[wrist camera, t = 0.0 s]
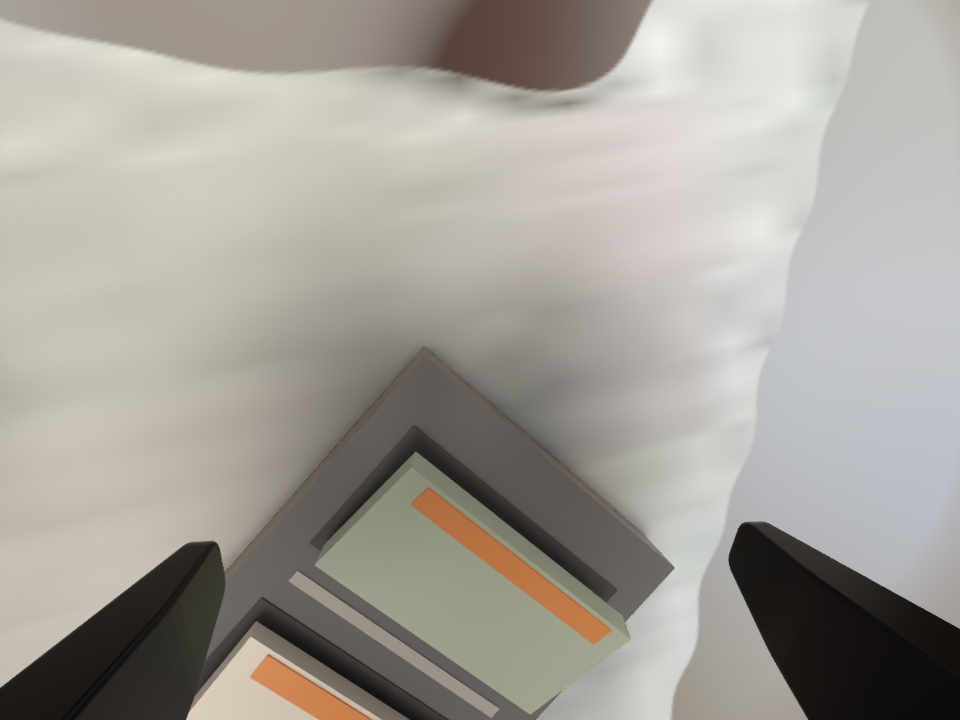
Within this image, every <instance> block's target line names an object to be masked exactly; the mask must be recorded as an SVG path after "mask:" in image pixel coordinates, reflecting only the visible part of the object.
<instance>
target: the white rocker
mask: <svg viewBox="0 0 960 720" xmlns="http://www.w3.org/2000/svg"><path fill="white" fill-rule="evenodd" d="M186 720H409V719H408V718H406V717H405V716H403V715H402V714H400V713H399V712H397V711H395V710H394V709H392V708H391V707H389V706H388V705H386V704H385V703H383V702H381V701H380V700H378V699H377V698H375V697H374V696H372V695H371V694H369V693H367V692H366V691H364V690H363V689H361V688H360V687H358V686H357V685H355V684H353V683H352V682H350V681H349V680H347V679H346V678H344V677H343V676H341V675H339V674H338V673H336V672H335V671H333V670H332V669H330V668H329V667H327V666H325V665H324V664H322V663H321V662H319V661H318V660H316V659H315V658H313V657H311V656H310V655H308V654H307V653H305V652H304V651H302V650H301V649H299V648H297V647H296V646H294V645H293V644H291V643H290V642H288V641H287V640H285V639H283V638H282V637H280V636H279V635H277V634H276V633H274V632H273V631H271V630H270V629H268V628H266V627H265V626H263V625H262V624H260V623H259V622H257V621H256V622H255V623H254V624H253V626H252V627H251V628H250V629H249V631H248V632H247V633H246V634H245V635H244V637H243V638H242V639H241V640H240V642H239V643H238V644H237V645H236V646H235V648H234V649H233V650H232V651H231V653H230V654H229V655H228V656H227V657H226V659H225V660H224V661H223V662H222V664H221V665H220V666H219V667H218V668H217V670H216V671H215V672H214V673H213V675H212V676H211V677H210V678H209V679H208V681H207V682H206V683H205V684H204V686H203V687H202V688H201V689H200V690H199V692H198V693H197V694H196V695H195V697H194V700H193V703H192V705H191V708H190V711H189V714H188V716H187V719H186Z"/></svg>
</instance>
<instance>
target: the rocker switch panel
mask: <svg viewBox="0 0 960 720" xmlns="http://www.w3.org/2000/svg"><path fill="white" fill-rule="evenodd" d="M415 452H417V453H418V454H420V455H421V456H422V457H423V458H425V459H426V460H427V461H428V462H430V463H431V464H432V465H433V466H435V467H436V468H437V469H439V470H440V471H441V472H442V473H444V474H445V475H446V476H447V477H449V478H450V479H451V480H452V481H454V482H455V483H456V484H457V485H459V486H460V487H461V488H462V489H464V490H465V491H466V492H467V493H469V494H470V495H471V496H472V497H474V498H475V499H476V500H478V501H479V502H480V503H481V504H483V505H484V506H485V507H486V508H488V509H489V510H490V511H491V512H493V513H494V514H495V515H496V516H498V517H499V518H500V519H501V520H503V521H504V522H505V523H506V524H508V525H509V526H510V527H512V528H513V529H514V530H515V531H517V532H518V533H519V534H520V535H522V536H523V537H524V538H525V539H527V540H528V541H529V542H530V543H532V544H533V545H534V546H535V547H537V548H538V549H539V550H540V551H542V552H543V553H544V554H546V555H547V556H548V557H549V558H551V559H552V560H553V561H554V562H556V563H557V564H558V565H559V566H561V567H562V568H563V569H564V570H566V571H567V572H568V573H569V574H571V575H572V576H573V577H574V578H576V579H577V580H578V581H580V582H581V583H582V584H583V585H585V586H586V587H587V588H588V589H590V590H591V591H592V592H593V593H595V594H596V595H597V596H598V597H600V598H601V599H602V600H603V601H605V602H606V603H607V604H608V605H610V606H611V607H612V608H614V609H615V610H616V611H617V612H619V613H620V614H621V615H622V616H623V618H624V621H625V622H626V621H627V620H628V618H629V617H630V616H631V615H632V614H633V613H634V612H635V611H636V610H637V609H638V608H639V606H640V605H641V604H642V603H643V602H644V601H645V600H646V599H647V598H648V597H649V596H650V594H651V593H652V592H653V591H654V590H655V589H656V588H657V587H658V586H659V585H660V584H661V582H662V581H663V580H664V579H665V578H666V577H667V576H668V575H669V574H670V573H671V572H672V570H673V569H674V567H673V565H672V564H671V563H670V562H669V561H668V560H667V559H666V558H665V557H664V556H663V555H662V553H661V552H660V551H659V550H658V549H657V548H656V547H655V546H654V545H653V544H652V543H651V541H650V540H649V539H648V538H647V537H646V536H645V535H644V534H643V533H641V532H640V531H639V530H638V529H637V528H636V527H634V526H633V525H632V524H631V523H630V522H629V521H627V520H626V519H625V518H624V517H623V516H622V515H620V514H619V513H618V512H617V511H616V510H615V509H613V508H612V507H611V506H610V505H609V504H608V503H606V502H605V501H604V500H603V499H602V498H601V497H599V496H598V495H597V494H596V493H595V492H594V491H592V490H591V489H590V488H589V487H588V486H587V485H585V484H584V483H583V482H582V481H581V480H580V479H578V478H577V477H576V476H575V475H574V474H572V473H571V472H570V471H569V470H568V469H567V468H565V467H564V466H563V465H562V464H561V463H560V462H558V461H557V460H556V459H555V458H554V457H553V456H551V455H550V454H549V453H548V452H547V451H546V450H544V449H543V448H542V447H541V446H540V445H539V444H537V443H536V442H535V441H534V440H533V439H532V438H530V437H529V436H528V435H527V434H526V433H525V432H523V431H522V430H521V429H520V428H519V427H518V426H516V425H515V424H514V423H513V422H512V421H511V420H509V419H508V418H507V417H506V416H505V415H504V414H502V413H501V412H500V411H499V410H498V409H497V408H495V407H494V406H493V405H492V404H491V403H490V402H488V401H487V400H486V399H485V398H484V397H483V396H481V395H480V394H479V393H478V392H477V391H476V390H474V389H473V388H472V387H471V386H470V385H469V384H467V383H466V382H465V381H464V380H463V379H462V378H460V377H459V376H458V375H457V374H456V373H455V372H453V371H452V370H451V369H450V368H449V367H448V366H446V365H445V364H444V363H443V362H442V361H441V360H439V359H438V358H437V357H436V356H435V355H434V354H432V353H431V352H430V351H429V350H428V349H427V348H425V347H423V348H422V350H421V351H420V352H419V353H418V354H417V355H416V356H415V357H414V359H413V360H412V361H411V362H410V363H409V364H408V365H407V367H406V368H405V369H404V370H403V371H402V372H401V373H400V374H399V376H398V377H397V378H396V379H395V380H394V381H393V382H392V384H391V385H390V386H389V387H388V388H387V389H386V390H385V392H384V393H383V394H382V395H381V396H380V397H379V398H378V399H377V401H376V402H375V403H374V404H373V405H372V406H371V407H370V409H369V410H368V411H367V412H366V413H365V414H364V415H363V416H362V418H361V419H360V420H359V421H358V422H357V423H356V424H355V426H354V427H353V428H352V429H351V430H350V431H349V432H348V433H347V435H346V436H345V437H344V438H343V439H342V440H341V441H340V443H339V444H338V445H337V446H336V447H335V448H334V449H333V451H332V452H331V453H330V454H329V455H328V456H327V457H326V458H325V460H324V461H323V462H322V463H321V464H320V465H319V466H318V468H317V469H316V470H315V471H314V472H313V473H312V474H311V475H310V477H309V478H308V479H307V480H306V481H305V482H304V483H303V485H302V486H301V487H300V488H299V489H298V490H297V491H296V492H295V494H294V495H293V496H292V497H291V498H290V499H289V500H288V502H287V503H286V504H285V505H284V506H283V507H282V508H281V510H280V511H279V512H278V513H277V514H276V515H275V516H274V517H273V519H272V520H271V521H270V522H269V523H268V524H267V525H266V527H265V528H264V529H263V530H262V531H261V532H260V533H259V534H258V536H257V537H256V538H255V539H254V540H253V541H252V542H251V544H250V545H249V546H248V547H247V548H246V549H245V550H244V551H243V553H242V554H241V555H240V556H239V557H238V558H237V559H236V561H235V562H234V563H233V564H232V565H231V566H230V567H229V569H228V570H227V571H226V572H225V573H224V574H225V580H226V585H225V593H224V597H223V601H222V604H221V608H220V611H219V615H218V618H217V622H216V625H215V628H214V632H213V635H212V639H211V642H210V646H209V649H208V653H207V656H206V660H205V663H204V667H203V670H202V674H201V677H200V681H199V684H198V687H197V690H196V694H197V693H198V692H199V690H200V689H201V688H202V687H203V686H204V684H205V683H206V682H207V681H208V679H209V678H210V677H211V676H212V675H213V673H214V672H215V671H216V670H217V668H218V667H219V666H220V665H221V664H222V662H223V661H224V660H225V659H226V657H227V656H228V655H229V654H230V653H231V651H232V650H233V649H234V648H235V646H236V645H237V644H238V643H239V642H240V640H241V639H242V638H243V637H244V635H245V634H246V633H247V632H248V631H249V629H250V628H251V627H252V626H253V624H254V623H255V622H256V621H257V622H259V623H260V624H262V625H263V626H265V627H266V628H268V629H270V630H271V631H273V632H274V633H276V634H277V635H279V636H280V637H282V638H283V639H285V640H287V641H288V642H290V643H291V644H293V645H294V646H296V647H297V648H299V649H301V650H302V651H304V652H305V653H307V654H308V655H310V656H311V657H313V658H315V659H316V660H318V661H319V662H321V663H322V664H324V665H325V666H327V667H329V668H330V669H332V670H333V671H335V672H336V673H338V674H339V675H341V676H343V677H344V678H346V679H347V680H349V681H350V682H352V683H353V684H355V685H357V686H358V687H360V688H361V689H363V690H364V691H366V692H367V693H369V694H371V695H372V696H374V697H375V698H377V699H378V700H380V701H381V702H383V703H385V704H386V705H388V706H389V707H391V708H392V709H394V710H395V711H397V712H399V713H400V714H402V715H403V716H405V717H406V718H408V719H409V720H536V719H537V718H538V717H539V716H540V714H541V713H542V712H543V711H544V710H545V709H546V708H547V707H548V706H549V705H550V704H551V702H552V701H553V700H554V699H555V698H556V697H557V696H558V695H559V694H560V693H561V692H562V691H561V692H560V693H558V694H557V695H556V696H554V697H553V698H552V699H550V700H549V701H548V702H546V703H545V704H544V705H542V706H541V707H540V708H538V709H537V710H536V711H534V712H533V713H532V714H531V715H530V714H529V713H527V712H526V711H524V710H523V709H521V708H520V707H518V706H517V705H516V704H514V703H513V702H511V701H510V700H508V699H507V698H505V697H504V696H503V695H501V694H500V693H498V692H497V691H495V690H494V689H492V688H491V687H490V686H488V685H487V684H485V683H484V682H482V681H481V680H479V679H478V678H477V677H475V676H474V675H472V674H471V673H469V672H468V671H466V670H465V669H464V668H462V667H461V666H459V665H458V664H456V663H455V662H453V661H452V660H451V659H449V658H448V657H446V656H445V655H443V654H442V653H440V652H439V651H438V650H436V649H435V648H433V647H432V646H430V645H429V644H427V643H426V642H424V641H423V640H422V639H420V638H419V637H417V636H416V635H414V634H413V633H411V632H410V631H409V630H407V629H406V628H404V627H403V626H401V625H400V624H398V623H397V622H396V621H394V620H393V619H391V618H390V617H388V616H387V615H385V614H384V613H383V612H381V611H380V610H378V609H377V608H375V607H374V606H372V605H371V604H370V603H368V602H367V601H365V600H364V599H362V598H361V597H359V596H358V595H357V594H355V593H354V592H352V591H351V590H349V589H348V588H346V587H345V586H344V585H342V584H341V583H339V582H338V581H336V580H335V579H333V578H332V577H331V576H329V575H328V574H326V573H325V572H323V571H322V570H320V569H319V568H318V567H316V566H315V563H316V560H317V558H318V556H319V554H320V552H321V550H322V548H323V546H324V544H325V543H326V542H327V541H328V540H329V539H330V538H331V537H332V536H333V535H334V534H335V533H336V532H337V531H338V530H339V529H340V528H341V527H342V526H343V525H344V524H345V523H346V522H347V521H348V520H349V519H350V518H351V517H352V516H353V515H354V514H355V513H356V512H357V511H358V510H359V509H360V508H361V507H362V506H363V505H364V504H365V503H366V502H367V501H368V500H369V498H370V497H371V496H372V495H373V494H374V493H375V492H376V491H377V490H378V489H379V488H380V487H381V486H382V485H383V484H384V483H385V482H386V481H387V480H388V479H389V478H390V477H391V476H392V475H393V474H394V473H395V472H396V471H397V470H398V469H399V468H400V467H401V466H402V465H403V464H404V463H405V462H406V461H407V460H408V459H409V458H410V457H411V456H412V455H413V454H414V453H415ZM196 694H195V695H196Z"/></svg>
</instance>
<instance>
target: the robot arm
mask: <svg viewBox="0 0 960 720" xmlns="http://www.w3.org/2000/svg"><path fill="white" fill-rule="evenodd" d="M729 566H730V569H731V572H732V574H733V576H734V578H735V580H736V583H737V585H738V587H739V589H740V591H741V593H742V595H743V597H744V599H745V601H746V604H747V606H748V608H749V610H750V612H751V614H752V617H753V619H754V621H755V623H756V625H757V627H758V629H759V631H760V633H761V635H762V638H763V640H764V642H765V644H766V646H767V648H768V650H769V652H770V654H771V656H772V658H773V659H774V661H775V663H776V665H777V666H778V669H779V670H780V672H781V674H782V675H783V677H784V679H785V681H786V682H787V684H788V686H789V688H790V689H791V691H792V692H793V694H794V696H795V698H796V700H797V701H798V703H799V705H800V707H801V708H802V710H803V712H804V713H805V715H806V717H807V719H808V720H960V629H959V628H957V627H955V626H954V625H952V624H950V623H948V622H946V621H944V620H943V619H941V618H939V617H937V616H936V615H934V614H932V613H930V612H928V611H926V610H925V609H923V608H921V607H919V606H917V605H916V604H914V603H912V602H910V601H908V600H906V599H905V598H903V597H901V596H899V595H897V594H895V593H894V592H892V591H890V590H888V589H886V588H885V587H883V586H881V585H879V584H877V583H875V582H874V581H872V580H870V579H869V578H867V577H865V576H863V575H861V574H859V573H858V572H856V571H854V570H852V569H850V568H848V567H846V566H845V565H843V564H841V563H839V562H838V561H836V560H834V559H832V558H830V557H829V556H827V555H825V554H823V553H821V552H820V551H818V550H816V549H814V548H812V547H811V546H809V545H807V544H805V543H803V542H802V541H800V540H798V539H796V538H794V537H792V536H791V535H789V534H787V533H785V532H783V531H781V530H780V529H778V528H776V527H774V526H773V525H771V524H769V523H766V522H761V521H760V522H745V523H742V524H741V525H740V526H739V528H738V531H737V533H736V536H735V539H734V542H733V545H732V548H731V550H730V553H729ZM225 585H226V580H225V574H224V569H223V563H222V558H221V553H220V548H219V545H218V544H217V543H216V542H214V541H203V542H190V543H187V544H185V545H184V546H182V547H181V548H180V549H178V550H177V551H176V552H175V553H173V554H172V555H171V556H169V557H168V558H167V559H166V560H164V561H163V562H162V563H160V564H159V565H158V566H156V567H155V568H154V569H153V570H151V571H150V572H149V573H147V574H146V575H145V576H144V577H142V578H141V579H140V580H138V581H137V582H136V583H135V584H133V585H132V586H131V587H129V588H128V589H127V590H126V591H124V592H123V593H122V594H120V595H119V596H118V597H117V598H115V599H114V600H113V601H111V602H110V603H109V604H108V605H106V606H105V607H104V608H102V609H101V610H100V611H99V612H97V613H96V614H95V615H93V616H92V617H91V618H89V619H88V620H87V621H86V622H84V623H83V624H82V625H80V626H79V627H78V628H77V629H75V630H74V631H73V632H71V633H70V634H69V635H68V636H66V637H65V638H64V639H62V640H61V641H60V642H59V643H57V644H56V645H55V646H53V647H52V648H51V649H50V650H48V651H47V652H46V653H44V654H43V655H42V656H41V657H39V658H38V659H37V660H35V661H34V662H33V663H32V664H30V665H29V666H28V667H26V668H25V669H24V670H22V671H21V672H20V673H19V674H17V675H16V676H15V677H13V678H12V679H11V680H10V681H8V682H7V683H6V684H4V685H3V686H2V687H1V688H0V720H186V719H187V716H188V714H189V711H190V708H191V705H192V703H193V700H194V697H195V694H196V690H197V687H198V684H199V681H200V677H201V674H202V670H203V667H204V663H205V660H206V656H207V653H208V649H209V646H210V642H211V639H212V635H213V632H214V628H215V625H216V622H217V618H218V615H219V611H220V608H221V604H222V601H223V597H224V593H225Z"/></svg>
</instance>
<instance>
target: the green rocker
mask: <svg viewBox="0 0 960 720" xmlns="http://www.w3.org/2000/svg"><path fill="white" fill-rule="evenodd" d="M315 566H316V567H318V568H319V569H320V570H322V571H323V572H325V573H326V574H328V575H329V576H331V577H332V578H333V579H335V580H336V581H338V582H339V583H341V584H342V585H344V586H345V587H346V588H348V589H349V590H351V591H352V592H354V593H355V594H357V595H358V596H359V597H361V598H362V599H364V600H365V601H367V602H368V603H370V604H371V605H372V606H374V607H375V608H377V609H378V610H380V611H381V612H383V613H384V614H385V615H387V616H388V617H390V618H391V619H393V620H394V621H396V622H397V623H398V624H400V625H401V626H403V627H404V628H406V629H407V630H409V631H410V632H411V633H413V634H414V635H416V636H417V637H419V638H420V639H422V640H423V641H424V642H426V643H427V644H429V645H430V646H432V647H433V648H435V649H436V650H438V651H439V652H440V653H442V654H443V655H445V656H446V657H448V658H449V659H451V660H452V661H453V662H455V663H456V664H458V665H459V666H461V667H462V668H464V669H465V670H466V671H468V672H469V673H471V674H472V675H474V676H475V677H477V678H478V679H479V680H481V681H482V682H484V683H485V684H487V685H488V686H490V687H491V688H492V689H494V690H495V691H497V692H498V693H500V694H501V695H503V696H504V697H505V698H507V699H508V700H510V701H511V702H513V703H514V704H516V705H517V706H518V707H520V708H521V709H523V710H524V711H526V712H527V713H529V714H530V715H531V714H532V713H533V712H534V711H536V710H537V709H538V708H540V707H541V706H542V705H544V704H545V703H546V702H548V701H549V700H550V699H552V698H553V697H554V696H556V695H557V694H558V693H560V692H561V691H562V690H564V689H565V688H566V687H568V686H569V685H570V684H572V683H573V682H574V681H576V680H577V679H578V678H580V677H581V676H582V675H584V674H585V673H586V672H588V671H589V670H590V669H592V668H593V667H594V666H596V665H597V664H598V663H600V662H601V661H602V660H604V659H605V658H606V657H608V656H609V655H610V654H612V653H613V652H614V651H616V650H617V649H618V648H619V647H621V646H622V645H623V644H625V643H626V642H627V641H629V640H630V636H629V633H628V630H627V627H626V624H625V621H624V618H623V616H622V615H621V614H620V613H619V612H617V611H616V610H615V609H614V608H612V607H611V606H610V605H608V604H607V603H606V602H605V601H603V600H602V599H601V598H600V597H598V596H597V595H596V594H595V593H593V592H592V591H591V590H590V589H588V588H587V587H586V586H585V585H583V584H582V583H581V582H580V581H578V580H577V579H576V578H574V577H573V576H572V575H571V574H569V573H568V572H567V571H566V570H564V569H563V568H562V567H561V566H559V565H558V564H557V563H556V562H554V561H553V560H552V559H551V558H549V557H548V556H547V555H546V554H544V553H543V552H542V551H540V550H539V549H538V548H537V547H535V546H534V545H533V544H532V543H530V542H529V541H528V540H527V539H525V538H524V537H523V536H522V535H520V534H519V533H518V532H517V531H515V530H514V529H513V528H512V527H510V526H509V525H508V524H506V523H505V522H504V521H503V520H501V519H500V518H499V517H498V516H496V515H495V514H494V513H493V512H491V511H490V510H489V509H488V508H486V507H485V506H484V505H483V504H481V503H480V502H479V501H478V500H476V499H475V498H474V497H472V496H471V495H470V494H469V493H467V492H466V491H465V490H464V489H462V488H461V487H460V486H459V485H457V484H456V483H455V482H454V481H452V480H451V479H450V478H449V477H447V476H446V475H445V474H444V473H442V472H441V471H440V470H439V469H437V468H436V467H435V466H433V465H432V464H431V463H430V462H428V461H427V460H426V459H425V458H423V457H422V456H421V455H420V454H418V453H417V452H415V453H414V454H413V455H412V456H411V457H410V458H409V459H408V460H407V461H406V462H405V463H404V464H403V465H402V466H401V467H400V468H399V469H398V470H397V471H396V472H395V473H394V474H393V475H392V476H391V477H390V478H389V479H388V480H387V481H386V482H385V483H384V484H383V485H382V486H381V487H380V488H379V489H378V490H377V491H376V492H375V493H374V494H373V495H372V496H371V497H370V498H369V500H368V501H367V502H366V503H365V504H364V505H363V506H362V507H361V508H360V509H359V510H358V511H357V512H356V513H355V514H354V515H353V516H352V517H351V518H350V519H349V520H348V521H347V522H346V523H345V524H344V525H343V526H342V527H341V528H340V529H339V530H338V531H337V532H336V533H335V534H334V535H333V536H332V537H331V538H330V539H329V540H328V541H327V542H326V543H325V544H324V546H323V548H322V550H321V552H320V554H319V556H318V558H317V560H316V563H315Z"/></svg>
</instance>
